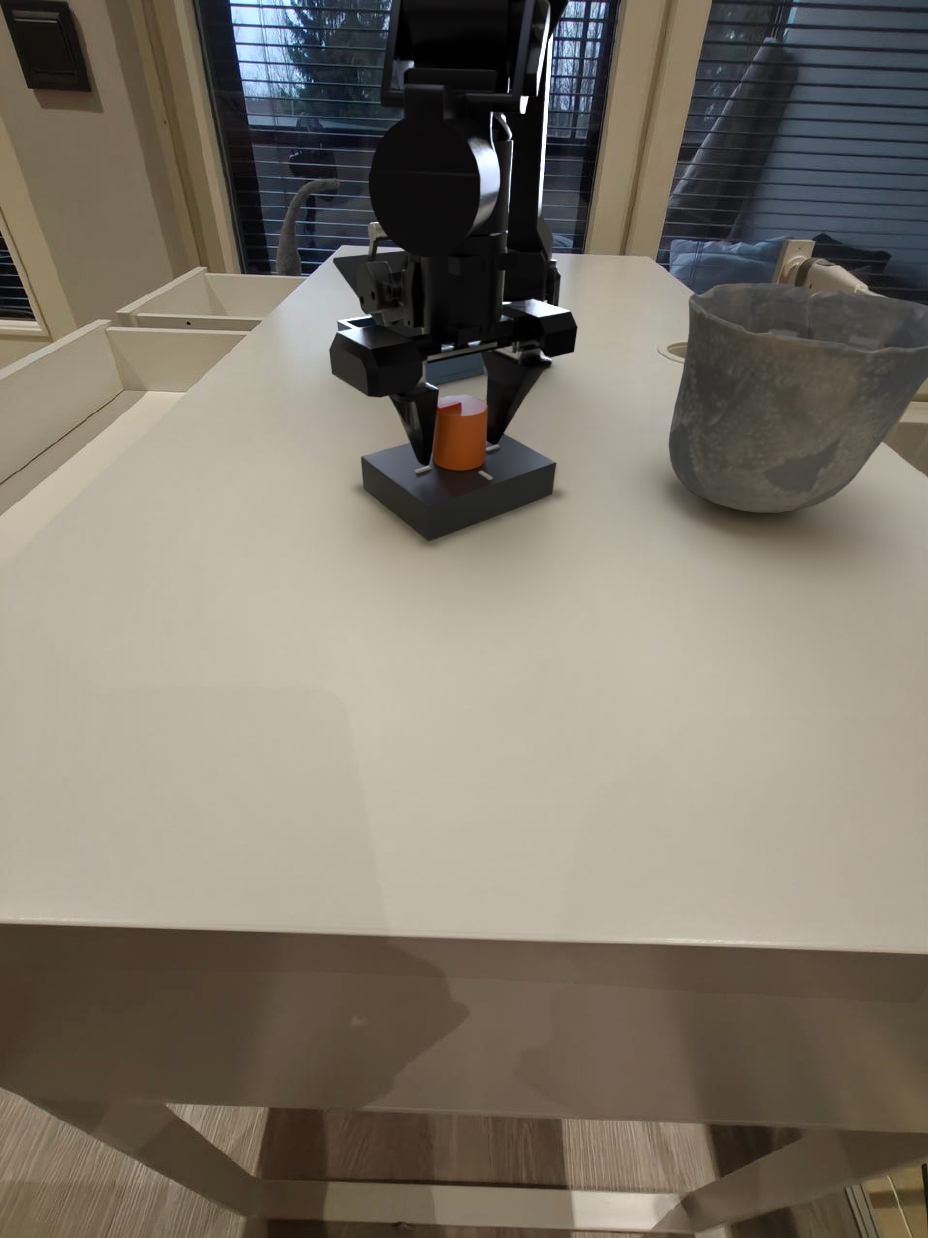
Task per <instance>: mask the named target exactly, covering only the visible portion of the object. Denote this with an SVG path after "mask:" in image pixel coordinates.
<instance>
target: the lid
mask: <svg viewBox="0 0 928 1238" xmlns="http://www.w3.org/2000/svg"><path fill="white" fill-rule="evenodd" d="M367 226H368V227H367V234H368V238H369V247H368V253H365V254H353V255H343V256H336V257H333V258H332V263H333V265H334V266H335V268H336V269H337V271H338V272H339V273H340V275H341V276H342V278H343V279H344V280H345V282H346V283H347V284H348V285H349V288H351V289H352V290H351V291H352V292H353V293H354V294H355V295H356V296H357V298H358V299H359V297H358V292H357V266H359V265H361V264H363V263H369V262H378V261H386V262H387V263H388V265H389V268H390V270H391V272H398V271H403V270H406V269H407V267H408V252H406V251H405V250H403V249H402V250H393V251H385V252H378V248H379V242H389V241H391V242H392V240H391V239H390V238H389V237H388V236H387V235H386V234H385V232H384V231H383V229H382V227H381V226H380V224H379V223H378V221H376V222H370V223H369V224H368V225H367ZM369 316H372V318H373V319H374V320H375V322H376V323H377V325H382V326H384V327H386V328H388V329H390V330H393V331H395V332H397V333H399V334H401V335H403V336H405V337H411V336H417V335H422V329H420V328H414V329H412V328H410V327H408V326H406V325H404V321H400V322H398V323H397V325H393V326H385V325H384V320H383V315H382V312H381V313H375V314H369Z"/></svg>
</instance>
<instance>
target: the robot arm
mask: <svg viewBox="0 0 928 1238" xmlns="http://www.w3.org/2000/svg"><path fill="white" fill-rule="evenodd" d="M569 2H570V0H391V5H390V10H389V11H390V13H389V20H388V29H387V35H386V43H385V44H386V45H385V53H384V59H383V69H382V76H381V85H380V93H379V100H380V101H379V102H380V106H381V108H382V109H390V110H391V109H392V110H403V111H404V113H403V114H404V118H402V119H400V120H398V121H397V122H396V123H394V124H393V125H391V127H389V128H388V130H387V131H386V132H385V133H384V135H383V136H382V137H381V139H380V140H379V142H378V144H377V147H376V149H375V151H374V153H373V156H372V161H371V166H370V171H369V173H368V194H369V198H370V204H371V208H372V210H373V213H374V216H375V218H376V222H378V223H379V224H380V226H381V227H382V229H383V231H384V232H385V234H386V235H387V236H388V237H389V238H390V239H391V242H393V244H394V245H396V246H397V247H399V249H402V251H403V250H405V251H406V252H408V267H407V269H406V270H403V271H398V272H391V270H390V268H389V265H388V263H387V262H386V261H378V262H369V263H363V264H361V265H359V266H357V292H358V297H359V298H358V297H357V298H358V301H359V306H360V309H361V311H362V312H363V313H364V315H365V316H370V314H375V313H381V312H382V315H383V320H384V325H385V326H393V325H397V323H398V322H400V321H404V325H406V326H408V327H410V328H412V329H414V328H420V329H422V335H417V336H411V337H405V336H403V335H401V334H399V333H397V332H395V331H393V330H390V329H388V328H386V327H384V326H382V325H375V326H369V327H363V328H357V329H351V330H345V331H339V332H338V331H336V333H335V335H334V338H333V340H332V342H331V344H330V347H329V349H328V352H329V360H330V370H331V375H333V376H335V377H336V378H337V379H339V380H341V381H343V382H344V383H346V384H347V385H349V386H351V387H352V388H353V389H355V390H357V391H359V392H360V393H361V394H363V395H365V396H367V397H368V398H369V397H370V398H379V399H381V398H385V397H388V398H389V400H390V401H391V403H392V406H393V407H394V408H395V410H396V412H397V415H398V417H399V419H400V422H401V423H402V426H403V428H404V430H405V433H406V436H407V438H408V441H409V443H410V444H411V446H412V448H413V451H414V453H415V456H416V458H417V461H418V462H419V463H420V464H422V465H423V466H428V465H429V462H430V458H431V454H432V449H433V440H434V431H435V422H436V413H437V405H438V399H439V396H440V389H439V388H438V387H436V386H435V385H433V386H432V385H430V384H428V383H426V364H430V363H434V362H439V361H444V360H448V359H453V358H458V357H463V356H467V355H472V354H477V353H481V356H482V359H483V362H484V364H483V365H484V367H485V370H486V377H487V379H486V397H485V398H486V399H485V400H486V401H485V402H486V403H487V405H488V417H487V435H486V439H487V441H488V442H489V443H491V444H492V445H496V444H498V442H499V441H500V439H501V437H502V435H503V434H505V432H506V431H507V428H508V427H509V425H510V423H511V422H512V420H513V419H514V417H515V415H516V413H517V412H518V410H519V408H520V407H521V405H522V404H523V402H524V400H525V399H526V397H527V396H528V394H529V393H530V391H531V390H532V389H533V388H534V386H535V385H536V383H537V381H538V380H539V378H540V377H541V375H542V374H543V373H544V372H545V371H546V370H548V369H551V368H552V364H553V360H552V358H555V357H559V356H563V355H568V354H572V353H575V349H576V341H577V334H578V325H577V322H576V320H575V318H574V315H573V313H572V311H571V310H568V309H565V308H562V307H559V303H560V293H561V282H562V281H561V280H562V275H561V273H560V272H559V271H558V268H559V267H558V261H557V259H553V246H554V236H553V234H552V231H551V230H550V228H549V226H548V224H547V222H546V220H545V218H544V216H543V213H542V206H543V205H542V203H543V189H544V188H543V187H544V173H545V158H546V145H547V129H548V128H547V127H548V115H549V114H548V112H549V99H550V98H549V97H550V83H551V69H552V68H551V67H552V51H553V39H554V32H555V30H556V28H557V26H558V24H559V22H560V21H561V18H562V16H563V14H564V12H565V10H566V8H567V6H568V4H569ZM545 301H546V302H545ZM452 343H453V345H451V344H452ZM442 344H444V345H447V346H442ZM541 354H543V355H544V356H543V355H541Z"/></svg>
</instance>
